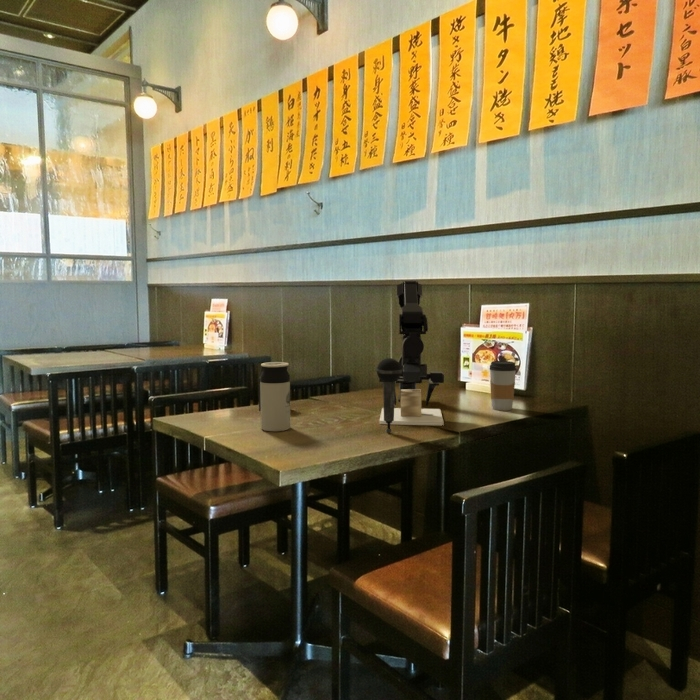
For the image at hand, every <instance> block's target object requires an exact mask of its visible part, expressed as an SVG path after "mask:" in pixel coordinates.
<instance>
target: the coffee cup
mask: <svg viewBox="0 0 700 700" xmlns="http://www.w3.org/2000/svg"><path fill="white" fill-rule="evenodd" d="M516 371H517V366H516V362H514V361H508V360H494V361H491V362H490V364H489V377H490V380H489V381H490V382H489V383H490V385H489V386H490V400H491V408H492V409H493V410H494V411H503V412H507V411H511V410H512V409H513V405H514V404H513V403H514V397H515V385H516Z"/></svg>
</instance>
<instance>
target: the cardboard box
mask: <svg viewBox="0 0 700 700" xmlns="http://www.w3.org/2000/svg"><path fill="white" fill-rule="evenodd" d="M400 408H401V416H413V417H421V409H422V389H418V388H416V389H401V401H400Z"/></svg>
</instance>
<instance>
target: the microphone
mask: <svg viewBox="0 0 700 700" xmlns="http://www.w3.org/2000/svg"><path fill="white" fill-rule="evenodd" d="M375 372H376V375H377V376H378V378H380V380H382V381H383V382H382V393H383V395H382V396H383V400H382V401H383V408H384V421H386V423H388V424H387V428H386V433H387V434H391V433H392V429H391V424H390V423H392V421H394V408H395V404H394V401H395V392H396V381H397V380H398V379H399V378H400V376H401V373H402V369H401V366H400V364H399V362H398V360H396V359H395V358H391V357H389V358H388V357H386V358H383V359H382V360H381V361H379V363H378V364H377V366H376V369H375Z"/></svg>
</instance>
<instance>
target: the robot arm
mask: <svg viewBox="0 0 700 700" xmlns="http://www.w3.org/2000/svg"><path fill="white" fill-rule="evenodd" d="M422 298H423V285H422V284H421V283H419V281H417V280H404V281H402V282H401V283H399V284H397V285H396V299H398V305H399V307H400V308H401V313H399V314H398V327H399V328H398V334H399V335H402V337H401V354H400V356H399V358H398V359H397V361H398V362H399V364H400V366H401V369H402V373H401V376H400V378H399V379H398V380H397V381H395V384H399V388H398V389H399V391H398V392H399V396H398V398H397V393H396V391H395V401H394V406H397V401H398V402H401V389H417V384H422V383H423V380H424V381H428V384H427V389H426V398H425V399H426V400H425V406H426V407H427V406H428V405H429V403H430V399H431V396H432V393H433V392H434V390H435V388H436V386H437V387H438V386H440V384H444V383H445V375H444V372H442V370H429V373H428V363H427V364H426V363H422V353H423V351H424V347H425V344H424V342H423V340H422V336H421V335H426V334H427V332H429V330H428V329H429V328H428V327H429V326H428V317H427V315H426V314H425V313H424V311H423V309H424V308H423V307H422V306H421V305H420V303H421V301H420V300H421V299H422ZM378 378H379V377H378ZM379 383H383V381H382V380H380V378H379Z"/></svg>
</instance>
